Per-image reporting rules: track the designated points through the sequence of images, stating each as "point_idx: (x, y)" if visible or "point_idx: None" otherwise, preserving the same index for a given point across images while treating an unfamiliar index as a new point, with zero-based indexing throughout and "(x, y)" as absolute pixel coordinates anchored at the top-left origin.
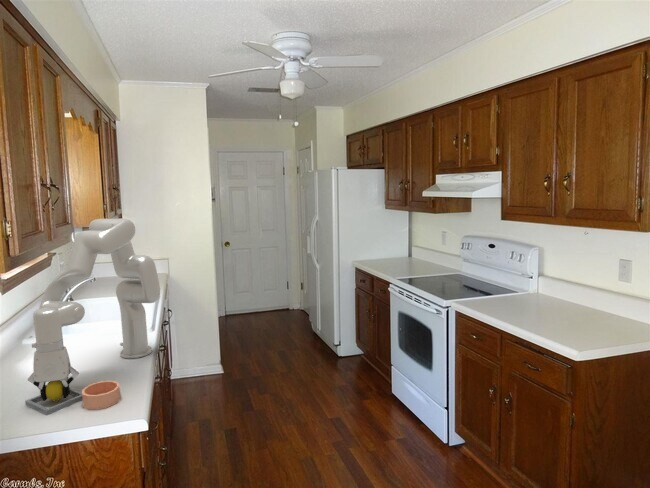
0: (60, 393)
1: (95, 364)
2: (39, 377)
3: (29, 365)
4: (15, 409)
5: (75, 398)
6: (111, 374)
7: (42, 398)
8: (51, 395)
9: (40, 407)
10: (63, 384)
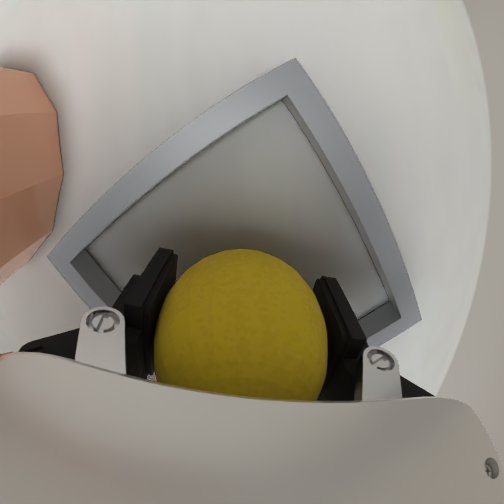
0: (185, 271)
1: None
2: (456, 455)
3: None
4: (451, 270)
5: (89, 210)
6: None
7: None
8: (268, 260)
9: (349, 152)
10: (124, 335)
